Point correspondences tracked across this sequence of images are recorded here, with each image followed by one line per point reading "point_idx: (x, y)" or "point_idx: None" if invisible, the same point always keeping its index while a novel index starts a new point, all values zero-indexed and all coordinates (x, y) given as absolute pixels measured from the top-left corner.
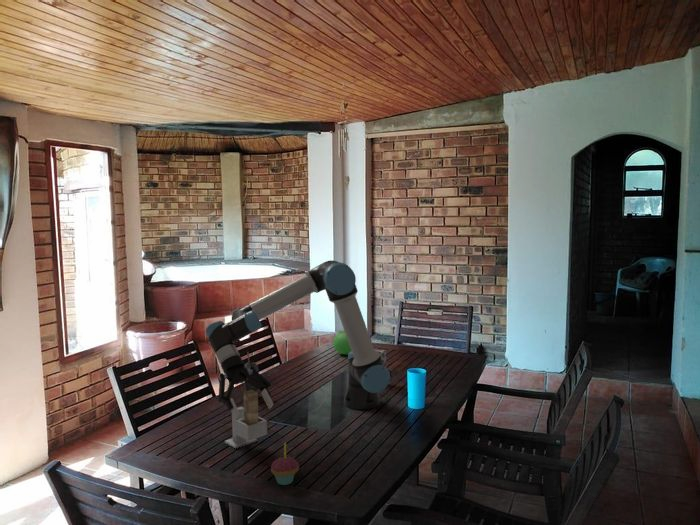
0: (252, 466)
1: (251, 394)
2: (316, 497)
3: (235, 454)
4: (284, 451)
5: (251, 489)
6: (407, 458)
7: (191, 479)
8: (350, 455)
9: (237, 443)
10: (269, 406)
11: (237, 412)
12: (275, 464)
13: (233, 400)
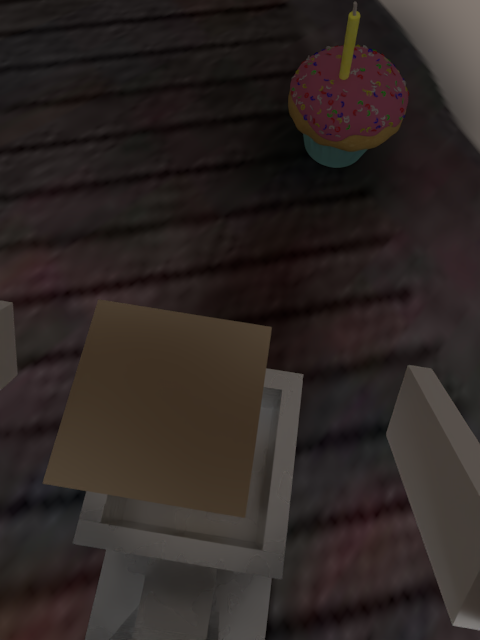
0: (341, 317)
1: (225, 322)
2: (335, 29)
3: (315, 489)
4: (353, 49)
5: (457, 194)
6: None
7: None
8: (24, 83)
9: (232, 580)
10: (9, 353)
11: (434, 386)
12: (397, 90)
13: (477, 493)
